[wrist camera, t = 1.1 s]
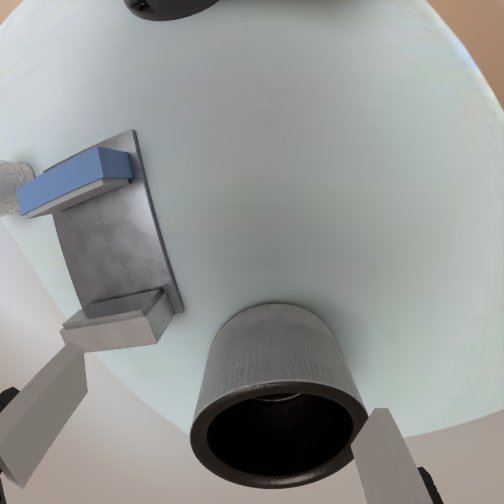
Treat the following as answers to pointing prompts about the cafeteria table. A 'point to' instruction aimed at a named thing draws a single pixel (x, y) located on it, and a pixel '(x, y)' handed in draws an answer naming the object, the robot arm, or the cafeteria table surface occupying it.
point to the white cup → (12, 184)
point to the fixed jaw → (120, 322)
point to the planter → (276, 401)
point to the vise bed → (116, 238)
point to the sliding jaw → (74, 182)
